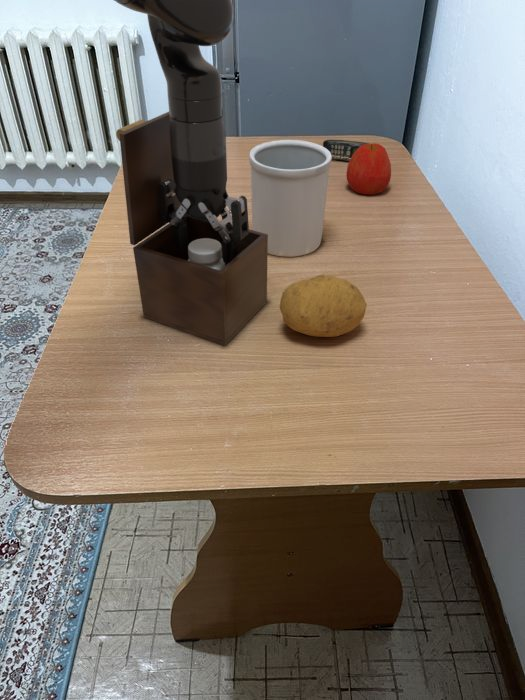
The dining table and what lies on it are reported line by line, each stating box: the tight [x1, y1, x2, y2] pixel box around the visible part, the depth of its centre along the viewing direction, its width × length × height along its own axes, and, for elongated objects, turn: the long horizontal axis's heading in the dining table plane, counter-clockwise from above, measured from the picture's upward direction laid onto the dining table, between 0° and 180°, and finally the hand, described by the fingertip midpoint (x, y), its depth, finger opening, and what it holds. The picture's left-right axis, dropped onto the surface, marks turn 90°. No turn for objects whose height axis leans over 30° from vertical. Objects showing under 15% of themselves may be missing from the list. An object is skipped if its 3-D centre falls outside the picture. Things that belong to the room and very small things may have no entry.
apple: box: [345, 143, 392, 195], centre depth 129 cm, size 10×10×10 cm
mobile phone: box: [322, 139, 371, 163], centre depth 145 cm, size 5×3×15 cm
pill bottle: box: [188, 238, 225, 270], centre depth 90 cm, size 6×6×11 cm
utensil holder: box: [248, 139, 333, 258], centre depth 107 cm, size 15×15×18 cm
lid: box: [115, 111, 181, 246], centre depth 84 cm, size 16×14×5 cm
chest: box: [132, 216, 269, 347], centre depth 90 cm, size 16×14×13 cm
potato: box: [279, 274, 367, 338], centre depth 87 cm, size 10×13×9 cm
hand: (205, 254), depth 87 cm, fingers open, 8 cm apart
